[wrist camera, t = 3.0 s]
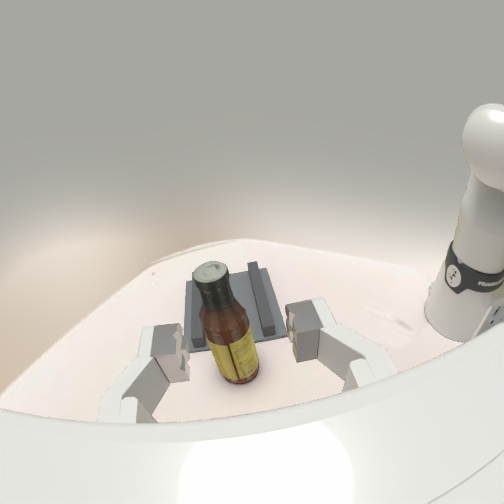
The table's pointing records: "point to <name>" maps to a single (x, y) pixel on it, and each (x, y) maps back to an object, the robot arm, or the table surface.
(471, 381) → the robot arm
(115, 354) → the table surface
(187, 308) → the holder
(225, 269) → the sauce bottle
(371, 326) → the table surface
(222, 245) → the table surface
